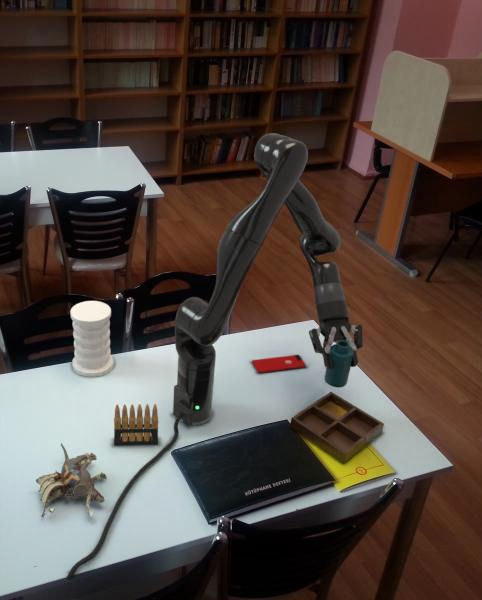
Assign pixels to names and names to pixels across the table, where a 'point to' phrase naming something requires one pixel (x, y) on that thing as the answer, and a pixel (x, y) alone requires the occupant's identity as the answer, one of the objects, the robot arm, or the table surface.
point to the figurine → (71, 482)
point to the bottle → (339, 364)
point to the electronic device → (278, 363)
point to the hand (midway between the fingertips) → (342, 367)
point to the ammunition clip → (135, 427)
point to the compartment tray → (336, 426)
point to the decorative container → (91, 338)
